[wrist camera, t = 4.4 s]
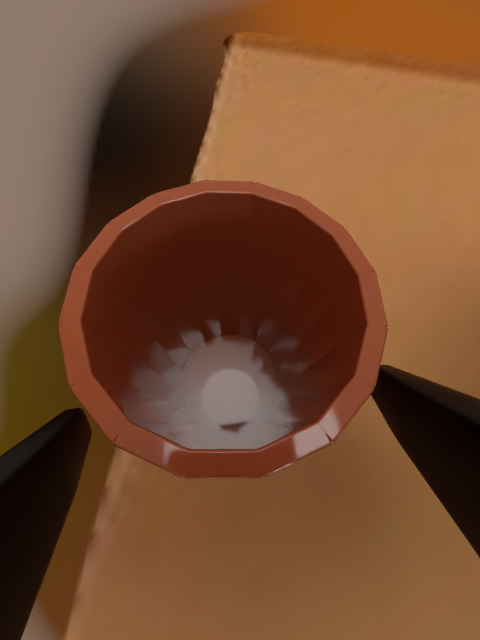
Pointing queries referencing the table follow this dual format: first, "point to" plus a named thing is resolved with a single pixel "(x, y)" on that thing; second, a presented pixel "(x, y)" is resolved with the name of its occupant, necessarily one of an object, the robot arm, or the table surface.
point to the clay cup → (223, 330)
